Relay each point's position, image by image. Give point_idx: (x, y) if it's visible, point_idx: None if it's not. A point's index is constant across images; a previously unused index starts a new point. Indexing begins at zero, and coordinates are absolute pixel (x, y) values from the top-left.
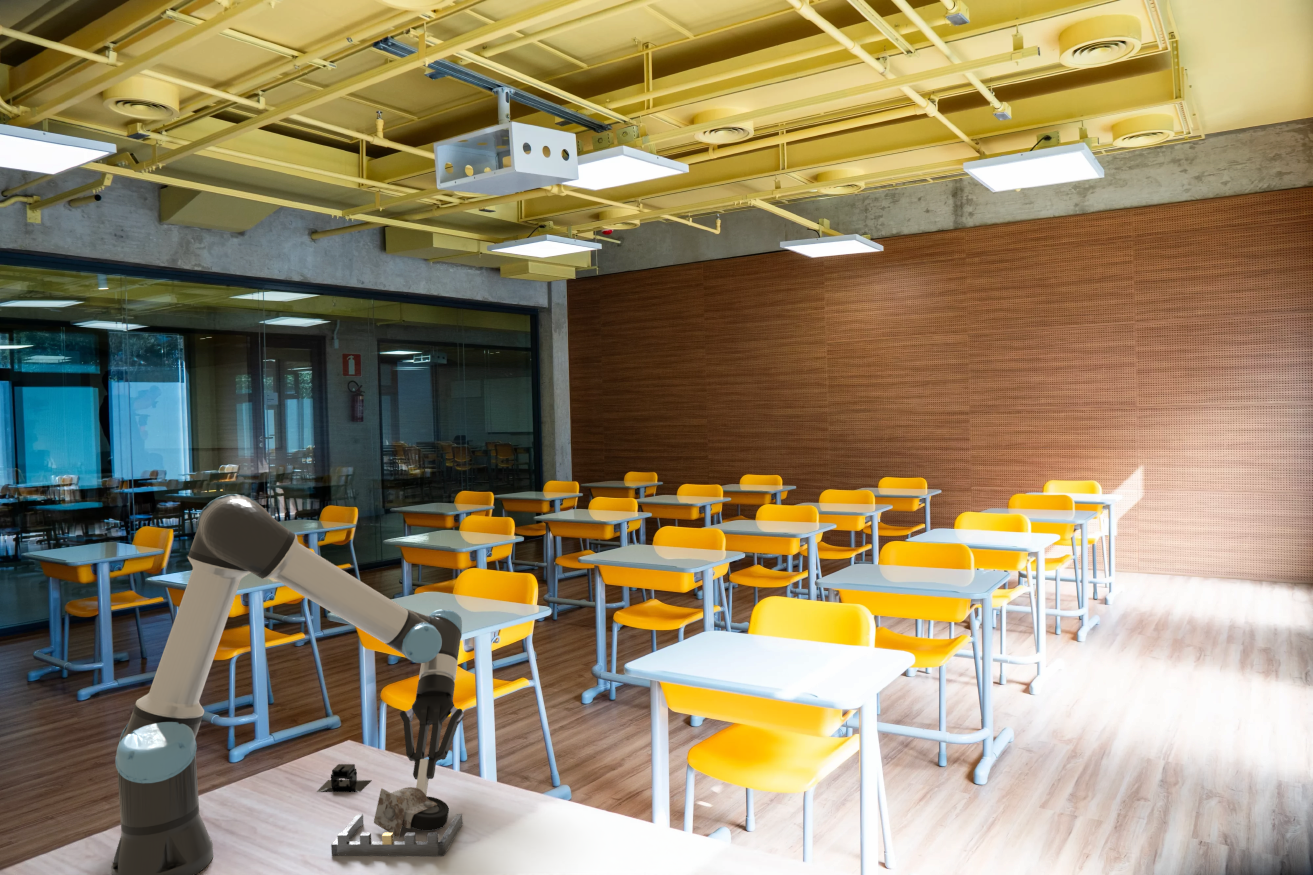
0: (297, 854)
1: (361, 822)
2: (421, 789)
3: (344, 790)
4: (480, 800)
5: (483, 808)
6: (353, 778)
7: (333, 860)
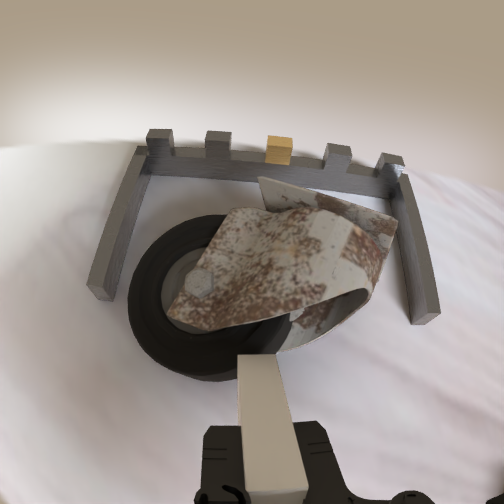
0: (458, 206)
1: (415, 309)
2: (249, 364)
3: None
4: (60, 448)
5: (46, 388)
6: None
7: None
